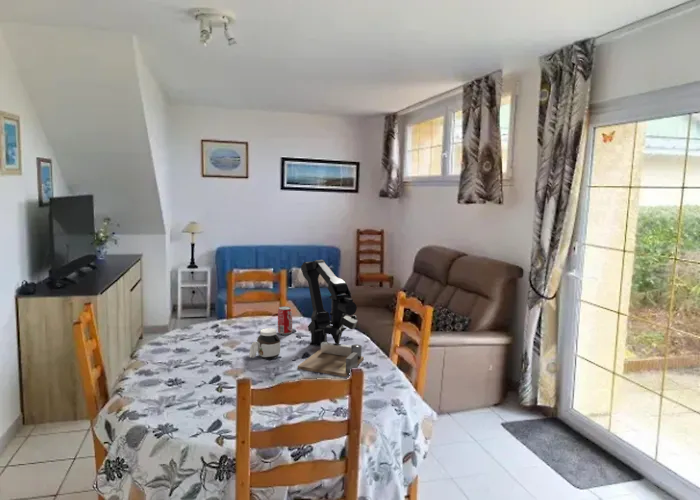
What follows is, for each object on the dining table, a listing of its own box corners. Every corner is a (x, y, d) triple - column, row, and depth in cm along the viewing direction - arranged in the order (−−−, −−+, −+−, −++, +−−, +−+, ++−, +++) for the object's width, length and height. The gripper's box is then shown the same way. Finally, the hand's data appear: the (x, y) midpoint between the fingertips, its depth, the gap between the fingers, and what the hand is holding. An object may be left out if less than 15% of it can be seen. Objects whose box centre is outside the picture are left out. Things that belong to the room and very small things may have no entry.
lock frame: (297, 368, 201) (297, 352, 200) (319, 352, 220) (319, 337, 220) (348, 377, 193) (349, 360, 192) (366, 359, 213) (366, 344, 212)
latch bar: (362, 356, 213) (363, 345, 212) (359, 359, 209) (359, 348, 208) (323, 350, 219) (324, 339, 218) (319, 353, 215) (319, 342, 214)
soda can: (289, 335, 244) (289, 310, 242) (275, 334, 245) (275, 309, 244) (294, 331, 251) (294, 306, 249) (280, 330, 252) (280, 305, 251)
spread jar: (282, 357, 214) (282, 331, 212) (261, 364, 206) (261, 336, 204) (265, 350, 222) (265, 325, 220) (244, 356, 214) (244, 330, 212)
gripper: (347, 317, 205) (346, 353, 208) (362, 307, 223) (361, 340, 225) (322, 314, 209) (322, 350, 211) (339, 304, 227) (338, 337, 229)
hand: (337, 344), depth 219 cm, fingers closed
